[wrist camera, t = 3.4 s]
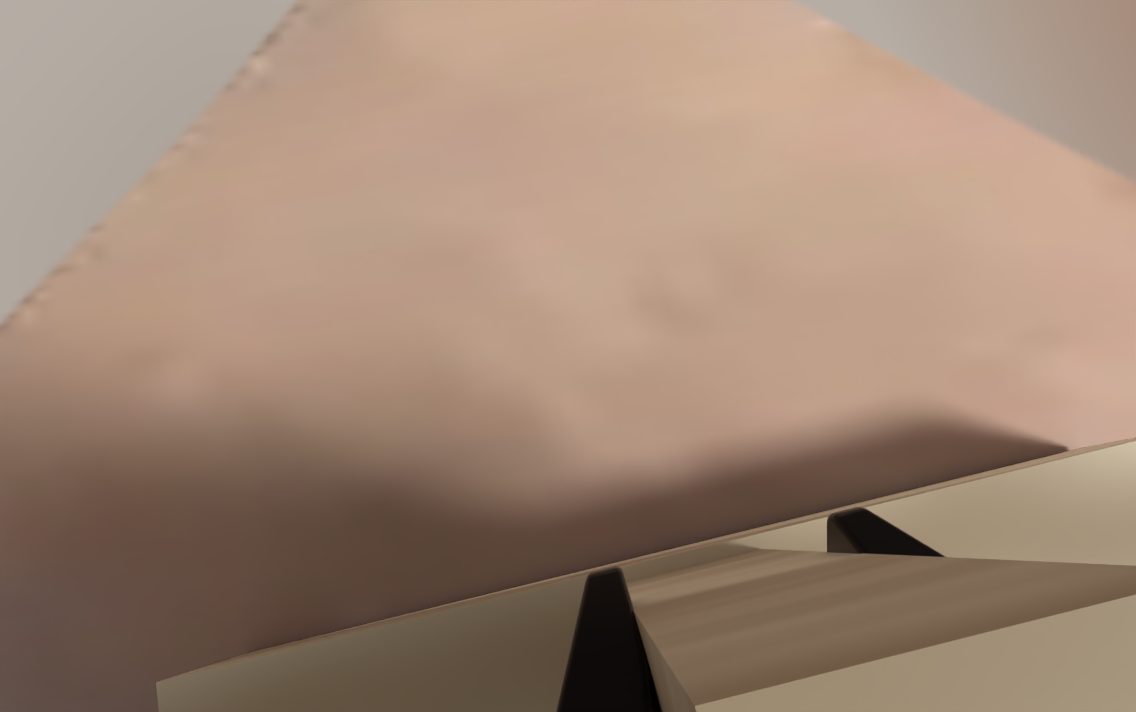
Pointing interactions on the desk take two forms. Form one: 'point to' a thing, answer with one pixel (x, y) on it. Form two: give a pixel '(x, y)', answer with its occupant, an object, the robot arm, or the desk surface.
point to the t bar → (781, 617)
